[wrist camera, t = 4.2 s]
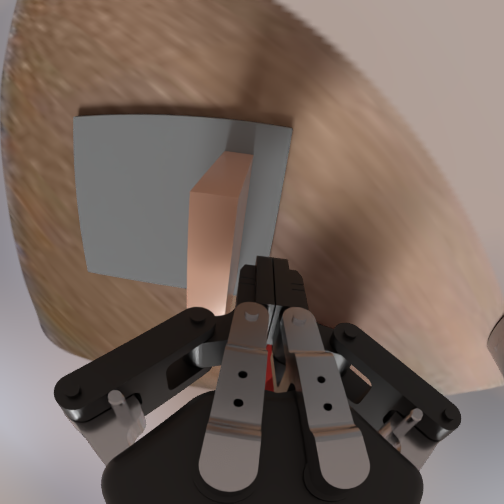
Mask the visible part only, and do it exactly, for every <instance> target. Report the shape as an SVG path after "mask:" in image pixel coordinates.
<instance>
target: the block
mask: <svg viewBox="0 0 504 504" xmlns="http://www.w3.org/2000/svg"><path fill="white" fill-rule="evenodd" d="M253 156H254V155H251V154H244V153H237V152H229V151H224V152H223V153H222V155H221V156H220V157H219V158H218V159H217V160H216V161H215V163H214V164H213V165H212V166H211V167H210V168H209V169H208V171H207V172H206V173H205V174H204V175H203V176H202V178H201V179H200V180H199V181H198V182H197V184H196V185H195V186H194V187H193V188H192V189H191V191H190V199H189V220H188V249H187V309H188V308H191V307H203V308H206V309H208V310H210V311H211V312H213V314H214V315H215V316H220V315H225V314H228V313H230V308H231V303H232V298H233V293H234V288H235V283H236V278H237V272H238V265H239V257H240V249H241V242H242V235H243V227H244V220H245V213H246V205H247V198H248V191H249V184H250V177H251V170H252V163H253Z"/></svg>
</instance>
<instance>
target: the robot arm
mask: <svg viewBox="0 0 504 504" xmlns="http://www.w3.org/2000/svg"><path fill="white" fill-rule="evenodd" d="M303 285H304V284H303V279H302V276H301V275H300V274H299V273H298V271H296V270H289V265H288V259H281V258H274V257H273V258H272V257H266V256H258V255H257V257H256V262H255V265H248V264H245V265H244V266H243V267H242V268H241V269H240V274H239V282H238V289H237V297H236V306H235V309H234V310H233V311H232V312H230V313H228V314H225V315H220V316H215V315H214V314H213V312H211V311H210V310H208V309H206V308H203V307H191V308H188V309H186V310H184V311H182V312H181V313H179V314H177V315H175V316H173V317H172V318H170V319H168V320H166V321H165V322H163V323H161V324H159V325H157V326H156V327H154V328H152V329H150V330H148V331H147V332H145V333H143V334H141V335H139V336H138V337H136V338H134V339H132V340H130V341H129V342H127V343H125V344H123V345H121V346H119V347H118V348H116V349H114V350H112V351H110V352H109V353H107V354H105V355H103V356H101V357H99V358H97V359H96V360H94V361H92V362H90V363H88V364H86V365H85V366H83V367H81V368H79V369H77V370H75V371H73V372H72V373H70V374H68V375H66V376H64V377H62V378H61V379H60V380H59V381H58V382H57V384H56V385H55V388H54V397H55V400H56V401H57V403H58V404H59V406H60V407H61V408H62V410H63V411H64V414H65V415H66V417H67V418H68V419H69V421H70V422H71V423H72V424H73V426H74V427H75V428H76V429H77V430H78V431H79V432H80V433H81V434H82V435H83V436H84V437H85V438H86V440H87V441H88V443H89V444H90V445H91V447H92V448H93V449H94V451H95V452H96V454H97V455H98V456H99V457H100V459H101V460H102V461H103V463H104V464H105V465H106V468H105V470H104V472H103V475H102V480H101V488H102V493H103V496H104V499H105V502H106V504H420V501H421V498H422V495H423V480H422V476H421V474H420V472H419V470H420V469H421V467H422V466H423V465H424V463H425V462H426V460H427V459H428V458H429V456H430V455H431V453H432V451H433V450H434V448H435V447H436V445H437V444H438V443H439V442H440V441H442V440H443V439H444V438H445V437H447V436H448V435H449V434H450V433H452V432H453V431H454V430H455V429H456V428H458V426H459V425H460V423H461V414H460V412H459V410H458V408H457V407H456V406H455V405H454V404H452V402H450V401H449V400H448V399H447V398H446V397H444V396H443V395H442V394H441V393H439V392H438V391H437V390H436V389H434V388H433V387H432V386H431V385H429V384H428V383H427V382H426V381H425V380H423V379H422V378H421V377H420V376H418V375H417V374H416V373H415V372H413V371H412V370H411V369H410V368H408V367H407V366H406V365H405V364H403V363H402V362H401V361H400V360H398V359H397V358H396V357H395V356H393V355H392V354H391V353H390V352H388V351H387V350H386V349H385V348H383V347H382V346H381V345H380V344H378V343H377V342H376V341H375V340H373V339H372V338H371V337H370V336H368V335H367V334H366V333H365V332H363V331H362V330H361V329H360V328H358V327H357V326H355V325H353V324H350V323H341V324H338V325H337V326H336V327H335V328H334V329H332V328H329V327H325V326H323V325H320V324H318V323H317V322H316V319H315V317H314V315H313V314H312V313H311V312H310V311H308V305H307V300H306V294H305V289H304V286H303ZM267 344H270V345H273V350H272V354H271V357H270V360H271V368H272V377H273V385H274V392H272V391H269V390H265V380H266V369H267V357H268V350H266V345H267ZM487 347H488V350H489V352H490V353H491V355H492V357H493V359H494V360H495V362H496V364H497V366H498V368H499V370H500V372H501V373H502V375H503V377H504V317H503V318H502V319H501V321H500V322H499V323H498V324H497V326H496V327H495V328H494V330H493V332H492V333H491V335H490V337H489V340H488V343H487ZM351 364H352V365H353V366H354V367H355V368H356V369H357V370H359V371H360V372H361V373H362V374H363V375H364V376H366V377H367V378H368V379H369V380H370V382H371V385H372V387H371V386H370V385H368V384H367V383H366V382H365V381H364V380H363V379H361V378H360V377H359V376H358V375H357V374H356V373H355V372H353V371H352V370H351V369H350V366H351ZM219 365H221V369H220V373H219V378H218V382H217V386H216V390H214V391H209V392H206V393H203V394H201V395H199V396H197V397H195V398H193V399H192V400H191V401H189V402H188V403H187V404H186V405H184V406H183V407H182V408H180V409H179V410H178V411H177V412H175V413H174V414H173V415H171V416H170V417H169V418H168V419H166V420H165V421H164V422H162V423H161V424H160V425H158V426H157V427H156V428H154V429H153V430H152V431H150V432H149V433H148V434H146V435H145V436H144V437H142V438H141V439H139V440H138V441H137V442H135V440H136V439H137V437H138V436H139V435H140V434H141V433H142V432H143V431H144V429H145V427H146V420H145V416H146V415H147V414H149V413H150V412H152V411H153V410H154V409H156V408H157V407H159V406H160V405H162V404H163V403H165V402H166V401H168V400H169V399H171V398H172V397H173V396H175V395H176V394H178V393H179V392H181V391H182V390H184V389H185V388H186V387H188V386H189V385H190V384H192V383H193V382H195V381H196V380H197V379H199V378H200V377H202V376H203V375H204V374H206V373H207V372H208V371H209V370H210V369H211V368H212V366H219ZM134 442H135V443H134Z"/></svg>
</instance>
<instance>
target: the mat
mask: <svg viewBox="0 0 504 504" xmlns="http://www.w3.org/2000/svg"><path fill="white" fill-rule="evenodd" d="M292 130H293V129H292V128H290V127H284V126H278V125H272V124H265V123H258V122H250V121H242V120H234V119H224V118H213V117H201V116H186V115H164V114H108V115H87V116H76V117H74V121H73V138H74V167H75V182H76V194H77V204H78V213H79V221H80V228H81V235H82V241H83V247H84V253H85V258H86V264H87V269H88V272H92V273H97V274H103V275H108V276H114V277H119V278H125V279H131V280H136V281H142V282H148V283H154V284H160V285H167V286H173V287H180V288H186V289H187V249H188V220H189V199H190V191H191V189H192V188H193V187H194V186H195V185H196V184H197V182H198V181H199V180H200V179H201V178H202V176H203V175H204V174H205V173H206V172H207V171H208V169H209V168H210V167H211V166H212V165H213V164H214V163H215V161H216V160H217V159H218V158H219V157H220V156H221V155H222V153H223V152H224V151H229V152H237V153H244V154H251V155H254V156H253V163H252V170H251V177H250V184H249V191H248V198H247V205H246V213H245V220H244V227H243V235H242V242H241V249H240V257H239V265H238V272H237V278H236V283H235V288H234V293H233V295H236V296H237V289H238V282H239V274H240V269H241V268H242V267H243V266H244V265H245V264H248V265H255V262H256V257H257V255H258V256H266V257H269V256H270V250H271V245H272V240H273V235H274V229H275V224H276V219H277V214H278V208H279V203H280V197H281V192H282V186H283V181H284V175H285V170H286V164H287V159H288V153H289V147H290V142H291V136H292Z"/></svg>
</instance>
